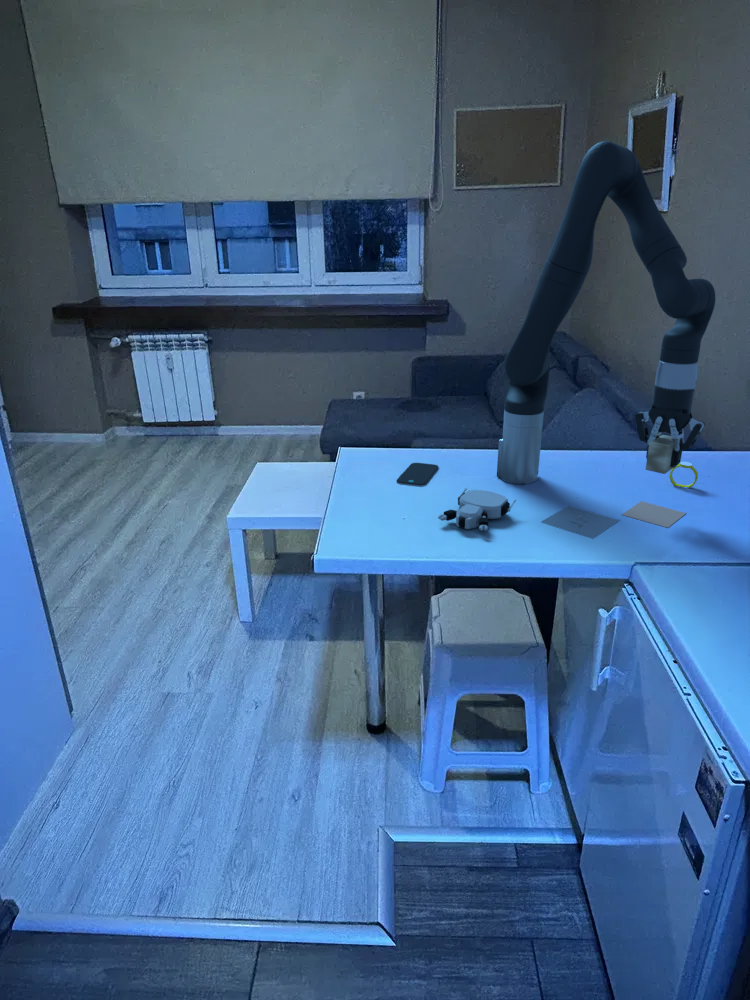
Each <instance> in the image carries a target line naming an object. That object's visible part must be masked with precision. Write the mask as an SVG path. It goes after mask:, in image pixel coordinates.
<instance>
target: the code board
mask: <svg viewBox="0 0 750 1000" xmlns="http://www.w3.org/2000/svg"><path fill="white" fill-rule="evenodd" d="M619 522H620V519H617V518H613V517H609V516H606V515H603V514H600V513H596V512H591V511H589V510H587V509H586V510H585V509H582V508H578V507H575V506H572V505H567V506H565V507H563V508H562V509H560V510H559V511H557V512H555V513H553V514H552V515H550V516H548V517H547V518H545V519H542V521H540V523H542V524H545V525H547V526H552V527H554V528H559V529H561V530H564V531H567V532H570V533H573V534H577V535H579V536H582V537H587V538H590V539H592V540H593V539H595V538H596V537H598V536H599V535H601V534H602V533H604V532H605V531H607V530H608V529H610V528H611V527H613V526H614V525H615V524H617V523H619Z"/></svg>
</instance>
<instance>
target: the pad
mask: <svg viewBox="0 0 750 1000" xmlns="http://www.w3.org/2000/svg"><path fill="white" fill-rule="evenodd" d="M686 514H687V512H683V511H681V510H676V509H672V508H668V507H665V506H662V505H661V506H660V505H657V504H653V503H649V502H646V501H642V500H641V501H639V502H638V503H636V504H635V505H633V506H632V507H631V508H629V509H627V510H626V511H625V512H623V513H621V515H622V516H623V517H627V518H630V519H635V520H638V521H641V522H645V523H648V524H652V525H655V526H659V527H662V528H666V529H668V528H670V527H671V526H673V525H674V524H676V523H677V521H679V520H680V519H682V518H683V517H684V516H686Z"/></svg>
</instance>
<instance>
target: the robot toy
mask: <svg viewBox="0 0 750 1000" xmlns="http://www.w3.org/2000/svg"><path fill="white" fill-rule="evenodd" d="M516 502H517V498H514V500H513V502H512V503H510V502H509V499H508V498H507V497H505V496H504V495H502V494H500V493H497V492H495V491H489V490H483V489H471V490H468V487H465V488H464V490H463V491H462V493H460V495H459V496H458V497H457V505H458V507H459V508H458V509H456V510H454V509H448V510H445V511H443V513H442V514H439V515H438V517H437V518H438V520H439V521H442V522H443V521H446V522H449V521H453V520H454V519H456V521H455V523H456V525H455V526H456V527H457V528H462V529H463V528H464V529H465V530H470V529H477V528H478V529H479V531H485V532H486V531H487V530H488V529H489V519H490V520H493V519H500V518H501V517H504V516H505V515H506V514H507V513H510V511H511V509H512V508H513V506H514V504H515V503H516Z"/></svg>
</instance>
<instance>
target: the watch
mask: <svg viewBox="0 0 750 1000" xmlns="http://www.w3.org/2000/svg"><path fill="white" fill-rule="evenodd" d="M677 468H683V469H690V470H692V471H693V474H694V476H695V477H694V481H693V482H692V483H690V484H680V483H677V482H676V481H675V480H674V478H673V473H674V471H675V470H676V469H677ZM669 472H670V473H669V480H670V483H671V484H672V485H673V486H674V487H677V486H680V487H679V488H683V487H687V488H686V489H689V488H691V487H693V486H694V485H695V484H696V483H697V481H698V476H699V474H698V471H697V469H696V468H695V467H694V466H693V464H692V463H691V462H689V461H680V463H679V464H678V466H676V467H675V468H673V469H672V470H670V471H669Z"/></svg>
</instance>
